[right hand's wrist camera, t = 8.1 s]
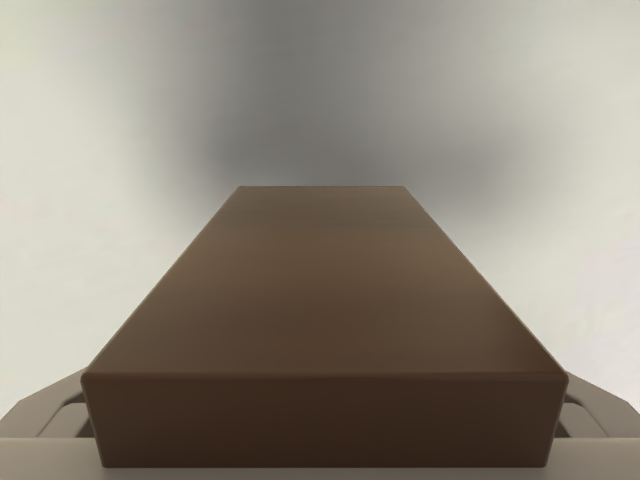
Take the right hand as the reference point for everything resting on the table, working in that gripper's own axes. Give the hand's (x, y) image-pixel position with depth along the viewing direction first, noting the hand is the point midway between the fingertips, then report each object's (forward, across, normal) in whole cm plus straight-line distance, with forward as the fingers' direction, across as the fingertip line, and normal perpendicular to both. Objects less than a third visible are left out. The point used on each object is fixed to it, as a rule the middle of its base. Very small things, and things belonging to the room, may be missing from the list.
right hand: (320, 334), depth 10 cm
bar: (+4, 0, +8) cm, 9 cm away
